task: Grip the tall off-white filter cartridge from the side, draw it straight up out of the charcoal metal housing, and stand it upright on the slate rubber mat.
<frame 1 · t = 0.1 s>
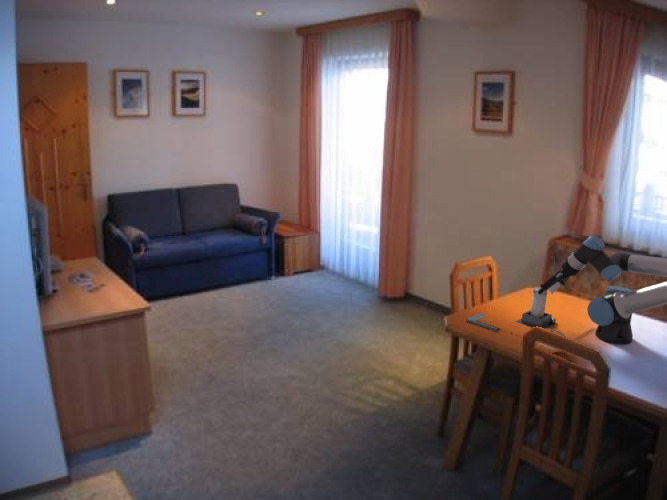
hand: (542, 294, 290), 15 cm above the table, tool tilted 35°, fingers open, 13 cm apart
cartridge: (536, 322, 294), point 1 cm above the table, touching housing
housing: (535, 325, 294), on the table
mat: (488, 323, 295), on the table
lidded jar: (548, 350, 267), on the table
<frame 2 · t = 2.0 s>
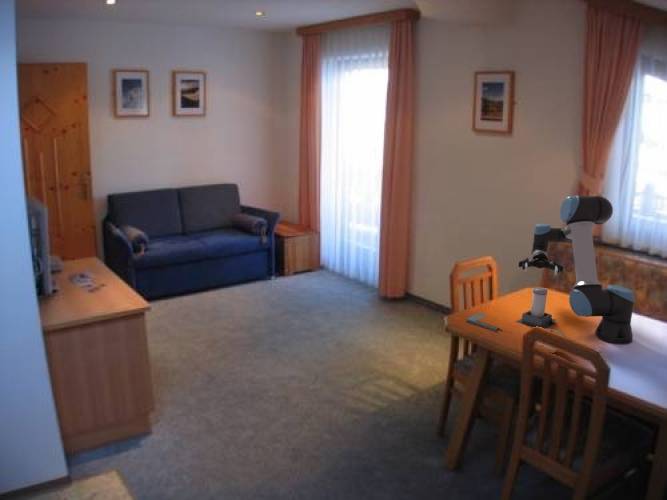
hand: (541, 271, 297), 23 cm above the table, tool horizontal, fingers open, 13 cm apart
nothing on the table moved.
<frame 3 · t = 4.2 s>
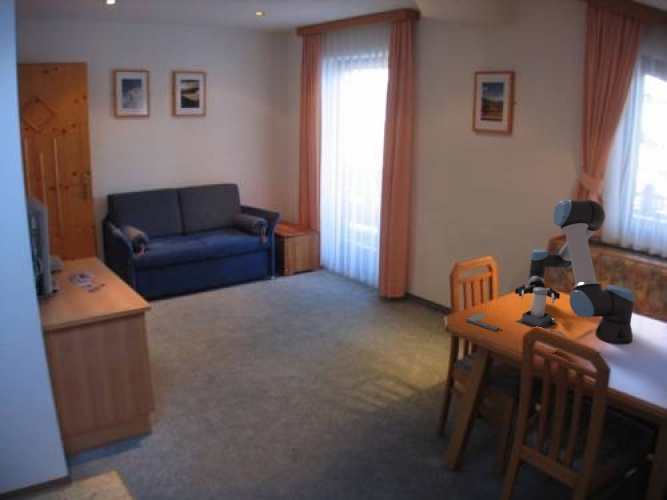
hand: (537, 298, 295), 11 cm above the table, tool horizontal, fingers open, 13 cm apart
nothing on the table moved.
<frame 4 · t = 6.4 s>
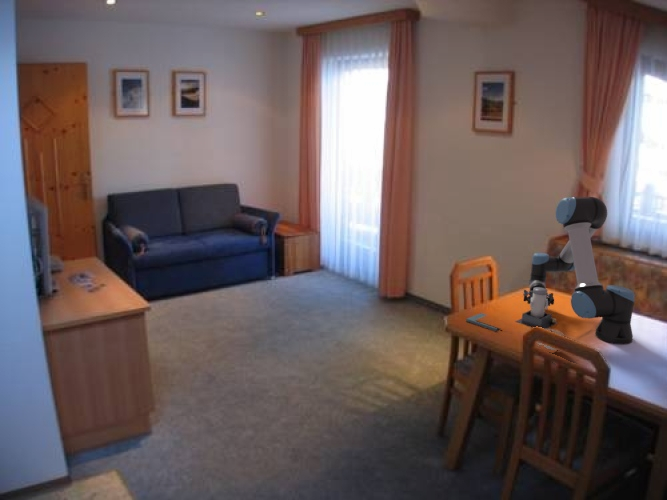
hand: (539, 305, 286), 11 cm above the table, tool horizontal, fingers closed on cartridge, 6 cm apart
cartridge: (536, 322, 294), point 1 cm above the table, touching gripper, housing
everything else where it was.
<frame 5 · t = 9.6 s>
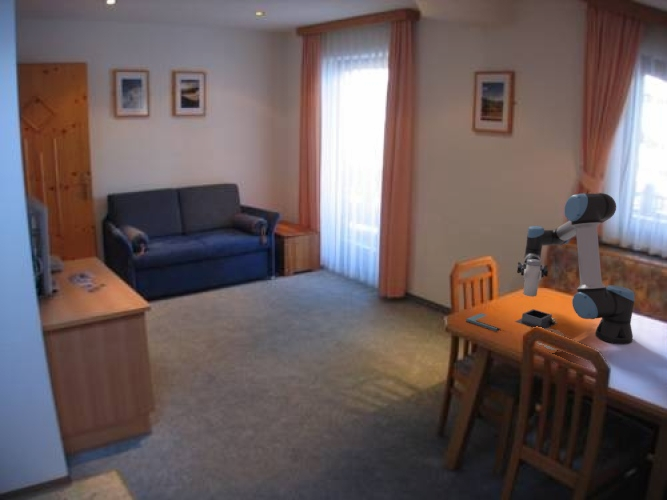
hand: (532, 276, 284), 24 cm above the table, tool horizontal, fingers closed on cartridge, 6 cm apart
cartridge: (529, 294, 292), point 14 cm above the table, touching gripper
everything else where it was.
when the fingers open (12 cm above the table, at t = 13.1 s): cartridge drops 1 cm, resting on mat.
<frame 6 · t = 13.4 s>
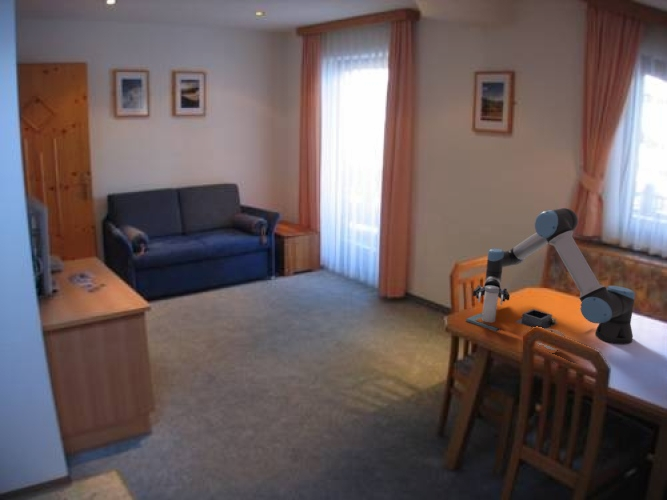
hand: (490, 300, 287), 12 cm above the table, tool horizontal, fingers open, 9 cm apart
cartridge: (488, 320, 295), point 1 cm above the table, touching mat
everything else where it was.
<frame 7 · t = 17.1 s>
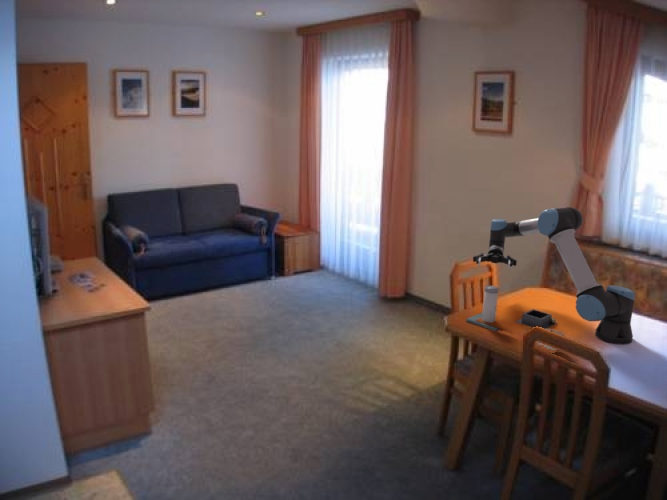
hand: (493, 265, 297), 25 cm above the table, tool horizontal, fingers open, 13 cm apart
nothing on the table moved.
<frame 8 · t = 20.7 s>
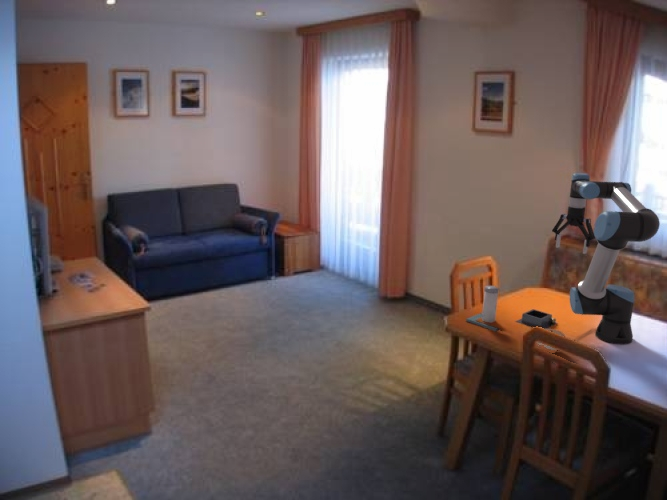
hand: (571, 250, 303), 32 cm above the table, tool pointing down, fingers open, 13 cm apart
nothing on the table moved.
at the end: cartridge inside the target area on the mat (0.1 cm from its centre), point 1.2 cm above the mat's base; cartridge tilted 0°; the gripper is holding nothing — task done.
